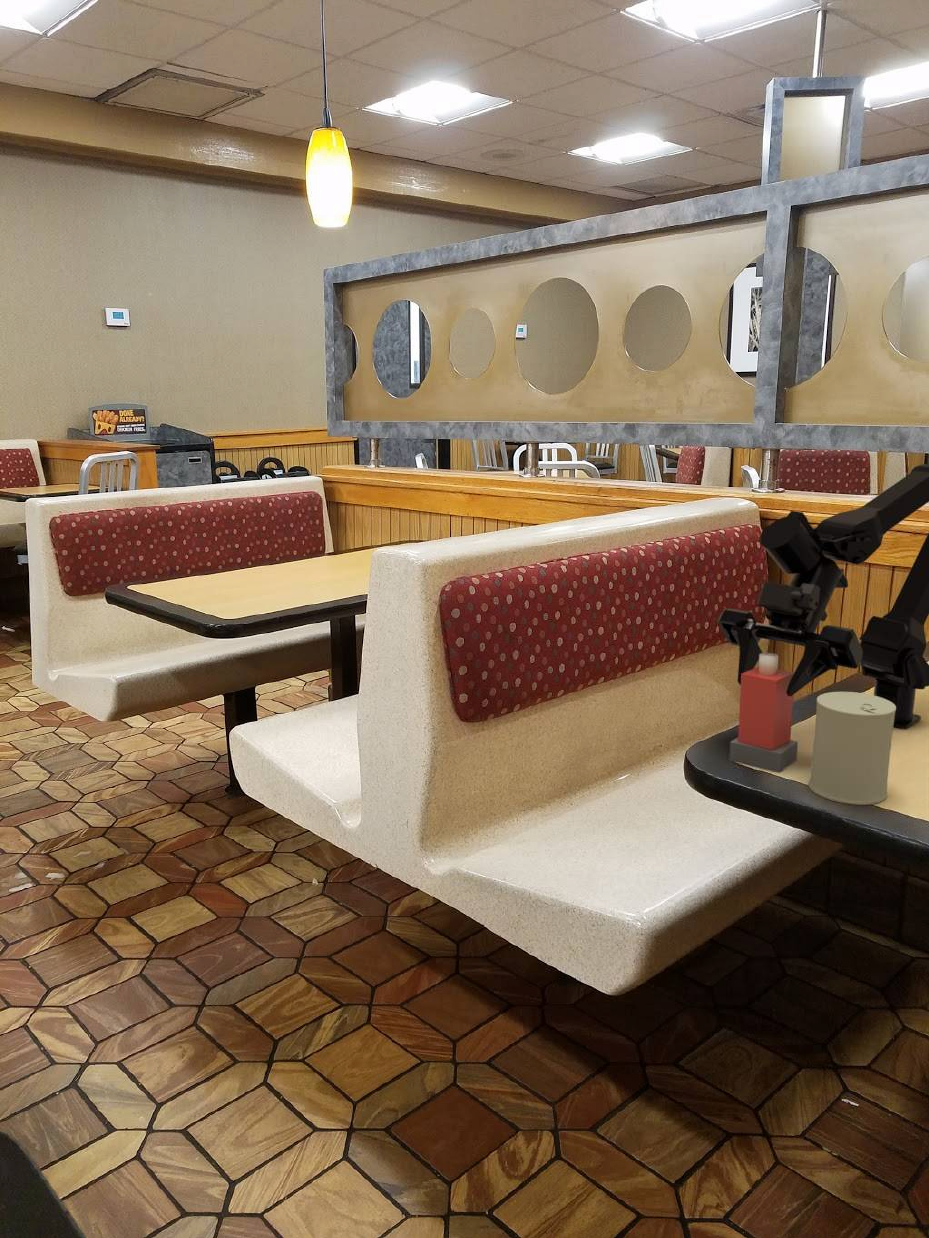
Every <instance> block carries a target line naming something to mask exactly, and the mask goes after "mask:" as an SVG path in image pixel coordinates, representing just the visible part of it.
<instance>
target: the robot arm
mask: <svg viewBox="0 0 929 1238" xmlns="http://www.w3.org/2000/svg"><path fill="white" fill-rule="evenodd" d="M927 503H929V464H926V463H925V464H924V463H921V464H919V465H916V466H915V467H913V468H912V469H911V471H910V473H908V474H907V475H906V476H904V477H903V478H901V479H900V480H898V481H897V482H895V483H894V484H893V485H891V486H890V487H888V488H887V489H885V490H884V491H883V492H881V493H880V494H879V495H877V496H876V497H874V498H872V499H871V500H870V501H869V502H867V503H865V504H864V505H862V506H860V507H858V508H855V509H851V510H846V511H841V512H839V513H836V514H834V515H832V516H830V517H826V518H825V519H823V520H822V521H820V522H819V524H817V526H816V527H813V526H812V525H811V523H810V522H809V520H808V518H807V516H806V515H805V514H804V512H803V511H796V510H790V511H789V513H788V514H787V516H784V517H780V518H778V519H776V520H774V521H773V522H772V523H770V525H766V526H765V528H763V530H762V532H761V535H760V539H759V542H760V544H761V546H762V547H763V548H764V549H765V551H766V552H767V553H768V555H769V556H770V557H771V558H772V560H773V561H774V562H775V563H776V565H777V566H778V567H779V569H780V570H781V571H783V573H785V574H788V575H792V578H791V580H790V582H789V584H783V583H776V582H771V581H769V582H768V581H764V582H763V583H762V587H761V590H760V594H759V597H758V602H757V606H759V607H761V608H762V607H763V608H764V609H765V612H764V615H765V618H766V619H767V620H770V624H766V623H760V622H757V621H756V618H755V617H754V615H753V613H752V611H748V610H741V609H736V608H730V607H729V608H726V609H724V610H723V611H722V612H721V613H720V616H719V617H718V619H717V621H716V623H717V624H718V626H719V628H720V629H721V631H722V633H723V635H724V637H725V638H726V640H727V641H728V643H730V644H731V645H733V646H736V647H739V649H738V652H739V656H738V657H739V659H738V670H737V683H738V685H739V686H741V674H742V673H744V672H747V671H749V670H752V669H755V668H756V665H757V664H758V663H759V655H760V654H761V653H763V651H762V649H761V647H760V644H759V643H760V640H761V639H764V640H768V641H769V640H770V641H776V642H780V643H782V644H783V643H785V644H790V645H796V646H798V647H799V646H800V647H804V649H803V655H802V657H801V659H800V661H799V663H798V665H797V666H796V669H795V671H794V672H793V673H794V674H793V676H792V678H791V680H790V683H789V685H788V688H787V691H786V693H787V695H788V696H792V695H793V696H794V695H795V694H796V693H798V692H800V690H802V689H803V688H804V687H806V686H807V685H808V684H810V683H811V682H812V681H814V680H815V679H816V678H819V677H820V676H822V675H823V674H825V673H826V672H828V671H830V670H833V671H835V670H838V668H839V667H842V668H843V667H844V668H848V669H853V670H855V669H857V668H859V666H860V667H861V671H862V672H861V673H862V676H864V677H870V678H873V679H874V687H873V689H874V690H873V695H874V696H878V697H881V698H884V699H886V700H889V701H890V702H892V703H893V704H894V705H895V706H896V711H895V717H894V725H893V727H896V728H901V729H907V728H909V727H910V726H912V725H914V724H916V723H917V722H919V721H921V719H922V716H921V715H919V714H915V713H914V708H915V700H916V691H917V690H925V689H926V687H929V663H928V661H927V660H926V659H925V657H924V653H925V651H926V647H927V637H926V633H925V623H926V621H927V619H928V617H929V532H928V533H927V535H926V537H925V539H924V541H923V543H922V546H921V548H920V549H919V552H918V554H917V556H916V558H915V560H914V561H913V564H912V565H911V568H910V570H909V573H907V575H906V578H905V581H904V582H903V585H902V586H901V589H900V591H899V593H898V595H897V596H896V599H895V601H894V603H893V605H892V607H891V608H890V611H889V612H887V613H886V614H884V615H883V616H882V617H881V616H877V615H872V616H871V617H870V618H869V620H868V622H867V626H866V628H865V631H864V632H863V633H862V635H861V636H860V637H859V639H858V637H857V634H856V632H855V630H854V629H853V628H850V627H849V628H848V627H843V626H836V625H829V624H827V625H824V626H822V629H821V631H820V633H815V632H816V631H817V628H818V627H819V624H820V622H826V620H827V618H828V614H827V611H826V609H827V607H828V605H829V603H830V601H831V598H832V596H833V594H834V592H835V590H836V589H846V588H847V589H848V587H849V583H848V579H847V577H846V575H845V571H844V568H840V567H839V565H838V564H837V563H836V562H841V563H847V564H852V565H860V564H863V563H865V562H866V561H867V560H868V559H869V558H870V557H871V556H872V555H873V554H874V553H875V552H876V551H877V550H878V549H879V548H880V547H881V545H882V543H883V538H884V535H885V534H886V533H888V531H889V530H891V529H893V528H894V527H896V526H898V525H899V524H900V523H901V522H902V521H904V520H905V519H907V518H908V517H910V516H911V515H912V514H914V513H915V512H917V511H918V510H919V509H921V508H922V507H923V506H925V505H927ZM835 561H836V562H835ZM859 640H860V641H859Z"/></svg>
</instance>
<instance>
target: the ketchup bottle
mask: <svg viewBox="0 0 929 1238" xmlns="http://www.w3.org/2000/svg"><path fill="white" fill-rule="evenodd" d="M794 673H795V672H791V671H785V670H781V669H779V654H777V653H772V652H762V653H761V654H760V655H759V660H758V667H754V669H752V670H749V671H747V672H744V673H742V674H741V685H740V690H739V691H740V692H739V693H740V695H739V697H740V698H739V717H738V718H739V719H738V734H737V735H738V736H737V737H738V742H742V743H746V744H750V745H754V746H758V747H762V748H766V749H769V750H774V749H776V748H778V747H779V746H781V745H783V744H785V743H787V742H789V741H790V740H792V739H791V735H792V720H793V705H794V702H793V701H794V695H792V696H788V695H787V693H786V691H787V688H788V685H789V683H790V680H791V678H792V676H793V674H794Z"/></svg>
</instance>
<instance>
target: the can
mask: <svg viewBox="0 0 929 1238" xmlns="http://www.w3.org/2000/svg"><path fill="white" fill-rule="evenodd" d="M815 710H816V711H815V723H814V724H815V725H814V736H813V737H814V738H813V749H812V750H813V751H812V758H811V769H810V776H809V777H810V778H809V780H808V787H809V789H810V790H811V791H812V792H813V793H814V794H816V795H818V796H819V797H821V798H823V799H826V800H828V801H832V802H836V803H841V804H845V805H847V804H848V805H854V806H855V805H857V806H858V805H859V806H867V805H876V804H879V803H882V802H884V801H885V800H886V799H887V798H888V779H889V778H888V777H889V770H890V769H889V767H890V757H891V750H892V749H891V748H892V739H893V731H894V726H893V725H894V717H895V711H896V706H895V705H894V704H893V703H892V702H890V701H889V700H886V699H884V698H881V697H878V696H874V694H868V693H864V692H863V693H862V692H856V691H854V692H853V691H831V692H824V693H822V694H820V695H818V696H817V697H816V709H815Z"/></svg>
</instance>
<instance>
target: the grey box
mask: <svg viewBox="0 0 929 1238" xmlns="http://www.w3.org/2000/svg"><path fill="white" fill-rule="evenodd" d="M798 747H799V742H798V740H793V739H791V740H790V741H789V742H787V743H785V744H783V745H781V746H779V747H778V748H776V749H774V750H769V749H766V748H762V747H758V746H754V745H750V744H746V743H742V742H738V736H737V737H736V738H734V739H733V740H731V741H730V742H729V755H728V756H729V757H728V761H730V762H733V763H734V762H735V763H738V764H741V765H746V766H750V767H753V768H759V769H762V770H766V771H770V772H773V773H778V774H780V773H781V772H783V771H784V770H785V769H786V768H788V767H789V766H791V765H792V764H793V763H794V762H796V761H797V760H798V759H797V758H798Z"/></svg>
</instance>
